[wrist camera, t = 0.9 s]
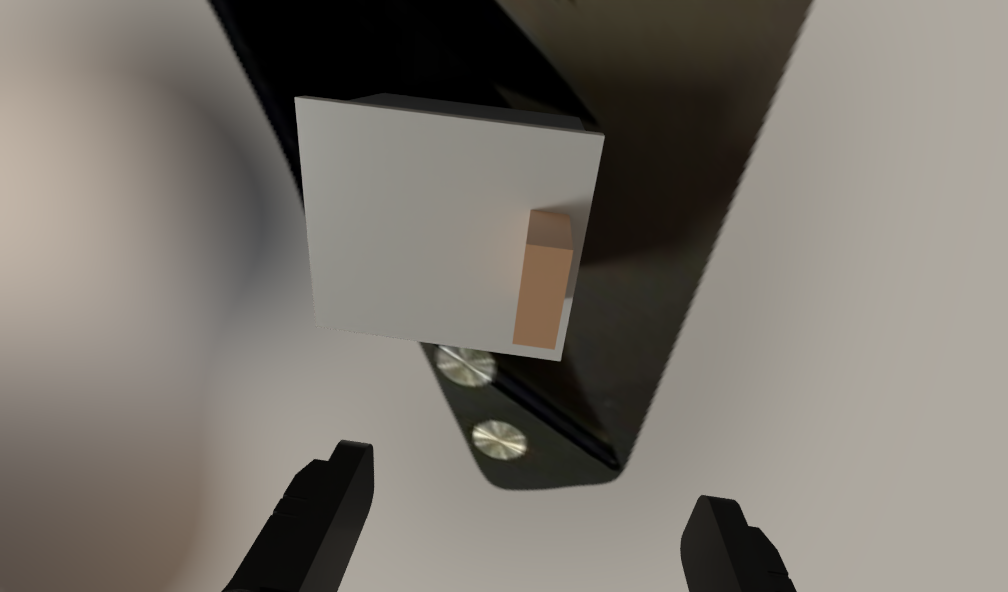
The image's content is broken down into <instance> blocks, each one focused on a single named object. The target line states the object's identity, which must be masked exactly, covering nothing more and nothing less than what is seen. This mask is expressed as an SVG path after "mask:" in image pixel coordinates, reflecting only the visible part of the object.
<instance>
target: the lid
mask: <svg viewBox="0 0 1008 592" xmlns="http://www.w3.org/2000/svg"><path fill="white" fill-rule="evenodd" d="M295 106H296V117H297V128H298V139H299V149H300V160H301V171H302V182H303V193H304V204H305V215H306V226H307V236H308V247H309V258H310V268H311V280H312V291H313V301H314V313H315V323H316V327H321V328H328V329H335V330H343V331H349V332H356V333H364V334H371V335H377V336H386V337H392V338H400V339H406V340H413V341H420V342H427V343H434V344H441V345H449V346H456V347H463V348H470V349H477V350H484V351H491V352H498V353H505V354H513V355H520V356H527V357H534V358H541V359H548V360H555V361H561V356H562V350H563V345H564V340H565V335H566V330H567V325H568V320H569V315H570V310H571V305H572V300H573V295H574V290H575V285H576V280H577V274H578V269H579V264H580V259H581V254H582V249H583V244H584V239H585V234H586V229H587V224H588V219H589V214H590V209H591V204H592V198H593V193H594V188H595V183H596V178H597V173H598V168H599V163H600V158H601V153H602V148H603V143H604V138H605V136H604V134H603V133H598V132H590V131H582V130H574V129H566V128H558V127H550V126H542V125H534V124H526V123H518V122H510V121H502V120H494V119H486V118H478V117H470V116H462V115H454V114H446V113H438V112H430V111H422V110H414V109H406V108H398V107H390V106H382V105H374V104H366V103H358V102H350V101H342V100H334V99H326V98H318V97H310V96H300V97H295Z"/></svg>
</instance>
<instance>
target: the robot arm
mask: <svg viewBox="0 0 1008 592" xmlns="http://www.w3.org/2000/svg"><path fill="white" fill-rule="evenodd" d="M373 494H374V457H373V446H372V445H371V444H367V443H361V442H354V441H347V440H341V441H340V442H339V443H338V444H337V446H336V448H335V450H334V452H333V453H332V455H331V457H330V459H329V461H324V460H318V459H314V460H313V461H312V462H310V463H309V464H308V465H307V466H306V467H304V468H303V469H302V470H301V471H299V472H298V473H297V474H296V475H295V477H294V478H293V480H292V482H291V483H290V485H289V486H288V488H287V489H286V491H285V493H284V495H283V498H282V499H280V501H279V503H278V504H277V506H276V508H275V509H274V511H273V515H271V516H270V517H269V519H268V520H267V522H266V524H265V525H264V527H263V529H262V530H261V532H260V534H259V535H258V537H257V538H256V540H255V542H254V543H253V545H252V547H251V548H250V550H249V552H248V553H247V555H246V556H245V558H244V560H243V561H242V563H241V565H240V566H239V568H238V569H237V571H236V573H235V574H234V576H233V578H232V579H231V580H230V582H229V583H228V585H227V586H226V587H225V588H224V589H223V590H222V592H337V591H338V588H339V586H340V583H341V581H342V578H343V575H344V573H345V571H346V568H347V566H348V563H349V560H350V558H351V556H352V553H353V551H354V548H355V545H356V543H357V541H358V538H359V535H360V533H361V531H362V528H363V526H364V523H365V520H366V518H367V516H368V513H369V510H370V507H371V503H372V499H373ZM680 551H681V561H682V565H683V569H684V573H685V577H686V581H687V584H688V588H689V592H797V591H796V589H795V587H794V585H793V583H792V581H791V579H789V577H788V572H787V570H786V568H785V565H784V563H783V561H782V559H781V557H780V555H779V552H778V550H777V549H776V548H775V546H774V545H773V544H772V543H771V542H770V541H769V539H768V538H767V537H766V536H765V534H764V533H763V532H762V531H761V530H760V529H759V528H757V527H751V526H748V524H747V522H746V519H745V517H744V515H743V512H742V510H741V508H740V505H739V504H738V503H737V502H736V501H735V500H732V499H725V498H719V497H712V496H706V495H701V496H700V497H699V498H698V500H697V503H696V505H695V507H694V509H693V512H692V514H691V516H690V518H689V521H688V523H687V525H686V527H685V530H684V532H683V535H682V538H681V548H680Z"/></svg>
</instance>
